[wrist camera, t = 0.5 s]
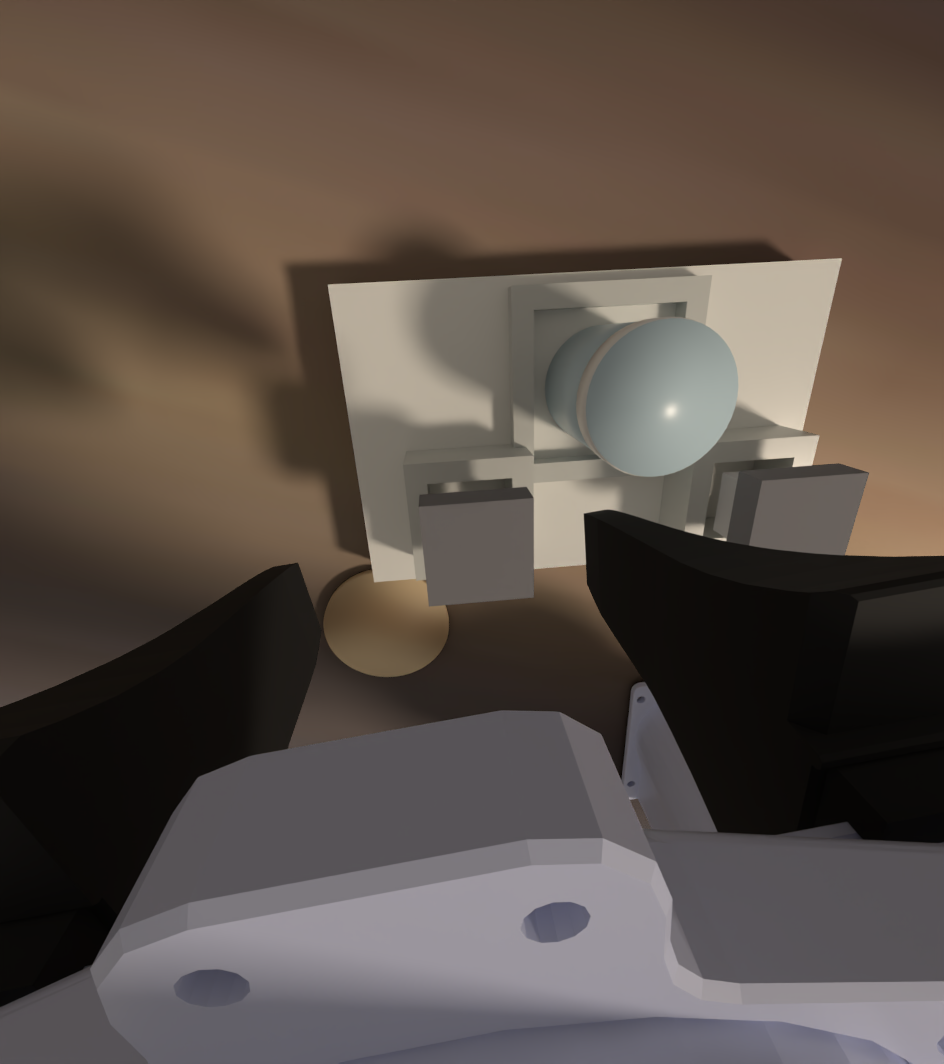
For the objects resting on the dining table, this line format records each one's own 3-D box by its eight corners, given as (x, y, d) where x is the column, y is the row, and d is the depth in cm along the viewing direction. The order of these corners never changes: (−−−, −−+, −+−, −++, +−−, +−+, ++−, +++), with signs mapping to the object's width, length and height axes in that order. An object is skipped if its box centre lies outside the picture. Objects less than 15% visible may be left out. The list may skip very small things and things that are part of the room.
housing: (748, 532, 24) (810, 570, 20) (379, 562, 23) (367, 608, 19) (802, 266, 19) (896, 247, 15) (338, 290, 18) (312, 276, 14)
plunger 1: (518, 558, 18) (534, 597, 16) (429, 566, 18) (428, 606, 15) (517, 472, 17) (533, 498, 14) (421, 479, 17) (418, 507, 14)
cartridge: (648, 437, 19) (725, 472, 14) (543, 445, 19) (583, 483, 14) (660, 319, 17) (753, 311, 12) (544, 326, 17) (590, 320, 12)
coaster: (452, 665, 25) (452, 671, 25) (336, 676, 25) (335, 682, 25) (443, 562, 23) (444, 567, 22) (314, 573, 23) (312, 578, 22)
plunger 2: (780, 537, 19) (839, 570, 16) (696, 544, 19) (742, 579, 16) (800, 451, 18) (869, 472, 15) (709, 458, 17) (762, 480, 15)
